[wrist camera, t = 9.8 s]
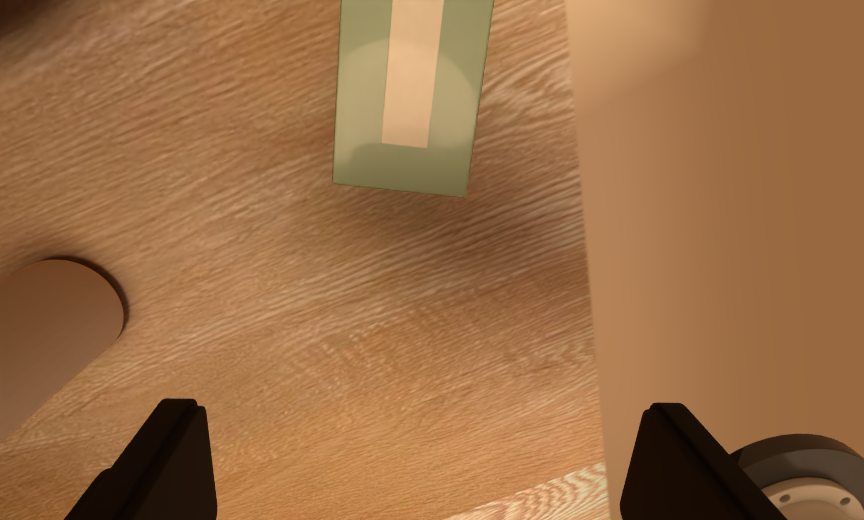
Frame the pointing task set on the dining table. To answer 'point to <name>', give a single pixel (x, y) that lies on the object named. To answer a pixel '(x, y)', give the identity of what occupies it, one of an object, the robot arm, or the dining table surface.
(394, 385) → the dining table surface
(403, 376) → the dining table surface
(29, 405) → the beverage can
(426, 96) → the tissue box
